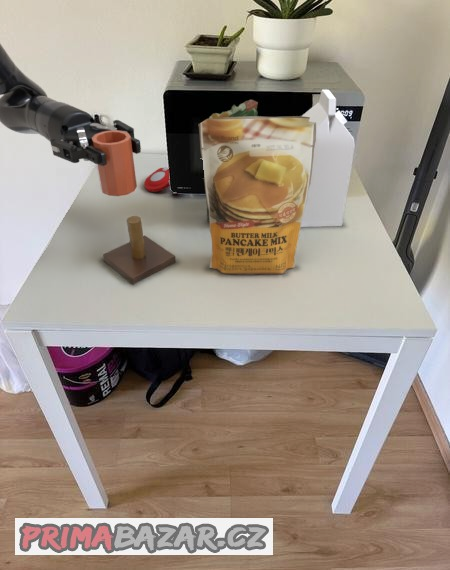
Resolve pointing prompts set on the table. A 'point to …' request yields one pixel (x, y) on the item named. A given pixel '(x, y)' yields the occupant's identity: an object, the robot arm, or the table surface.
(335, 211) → the milk
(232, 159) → the pancake mix bag
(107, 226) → the table surface
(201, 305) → the table surface
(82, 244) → the table surface
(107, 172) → the faceted terracotta cup
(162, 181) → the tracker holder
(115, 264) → the ring stand
